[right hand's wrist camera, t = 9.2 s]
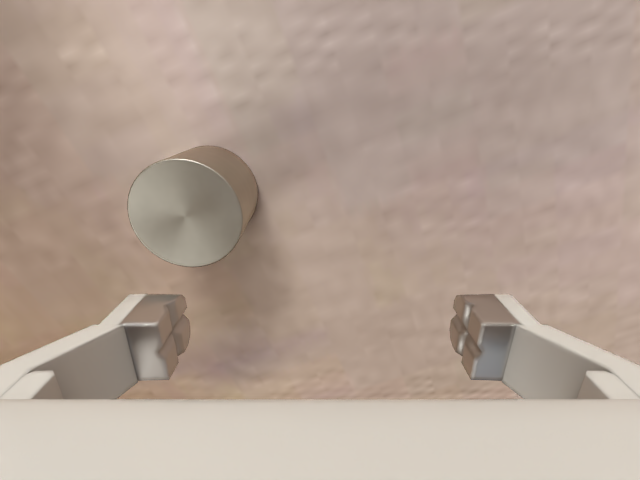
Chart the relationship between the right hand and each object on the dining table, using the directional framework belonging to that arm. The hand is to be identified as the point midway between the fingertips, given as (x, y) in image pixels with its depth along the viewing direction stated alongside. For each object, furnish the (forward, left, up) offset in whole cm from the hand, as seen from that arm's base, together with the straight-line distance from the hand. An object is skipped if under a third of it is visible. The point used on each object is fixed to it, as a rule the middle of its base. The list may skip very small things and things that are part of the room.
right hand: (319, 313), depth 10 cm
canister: (+4, -4, -9) cm, 11 cm away
